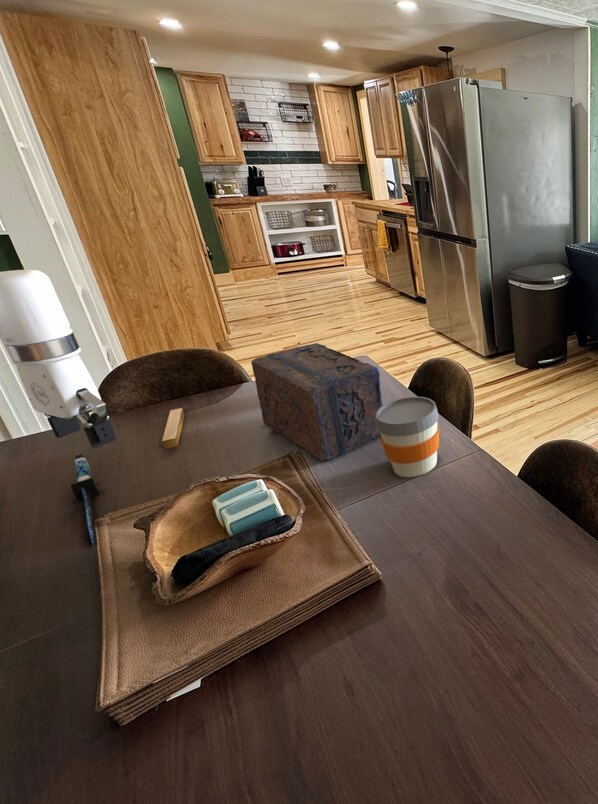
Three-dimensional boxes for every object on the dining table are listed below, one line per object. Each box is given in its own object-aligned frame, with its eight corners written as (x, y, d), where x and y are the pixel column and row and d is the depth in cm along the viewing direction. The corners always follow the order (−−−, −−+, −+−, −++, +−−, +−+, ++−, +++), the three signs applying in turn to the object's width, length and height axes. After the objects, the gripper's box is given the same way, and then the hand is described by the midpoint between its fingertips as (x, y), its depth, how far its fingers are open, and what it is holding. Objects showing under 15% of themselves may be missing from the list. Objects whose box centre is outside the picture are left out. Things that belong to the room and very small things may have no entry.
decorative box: (328, 405, 135) (250, 430, 118) (321, 337, 129) (238, 354, 112) (400, 436, 121) (323, 470, 104) (396, 362, 115) (314, 385, 98)
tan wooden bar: (164, 449, 112) (161, 441, 111) (173, 417, 126) (170, 410, 125) (177, 445, 114) (174, 438, 113) (184, 414, 127) (182, 407, 126)
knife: (80, 471, 102) (71, 455, 100) (100, 465, 104) (91, 449, 102) (78, 564, 83) (67, 547, 81) (102, 555, 85) (92, 538, 83)
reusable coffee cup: (396, 493, 98) (384, 431, 93) (378, 465, 107) (366, 407, 102) (454, 470, 106) (446, 411, 100) (432, 445, 115) (424, 390, 109)
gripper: (-21, 349, 75) (27, 440, 82) (46, 364, 71) (91, 459, 77) (42, 334, 82) (82, 419, 89) (107, 346, 77) (145, 436, 84)
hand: (86, 438), depth 83 cm, fingers open, 9 cm apart
